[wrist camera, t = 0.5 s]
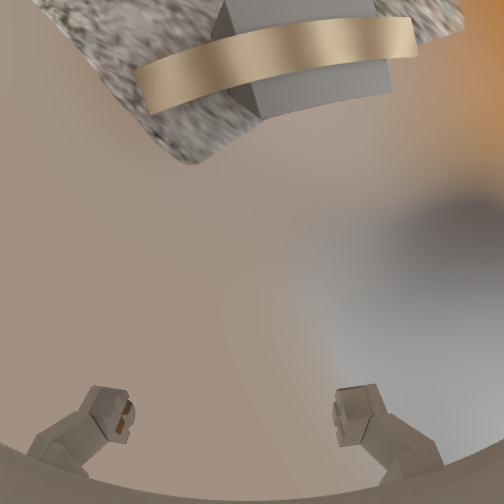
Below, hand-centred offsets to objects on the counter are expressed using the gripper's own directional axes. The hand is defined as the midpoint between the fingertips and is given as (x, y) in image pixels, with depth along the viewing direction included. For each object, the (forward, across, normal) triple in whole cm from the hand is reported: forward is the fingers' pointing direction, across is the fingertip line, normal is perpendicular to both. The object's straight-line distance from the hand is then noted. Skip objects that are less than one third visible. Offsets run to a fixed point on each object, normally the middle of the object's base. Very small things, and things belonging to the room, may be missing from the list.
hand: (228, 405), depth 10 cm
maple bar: (+19, -4, -17) cm, 26 cm away
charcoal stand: (+45, -3, -24) cm, 51 cm away
